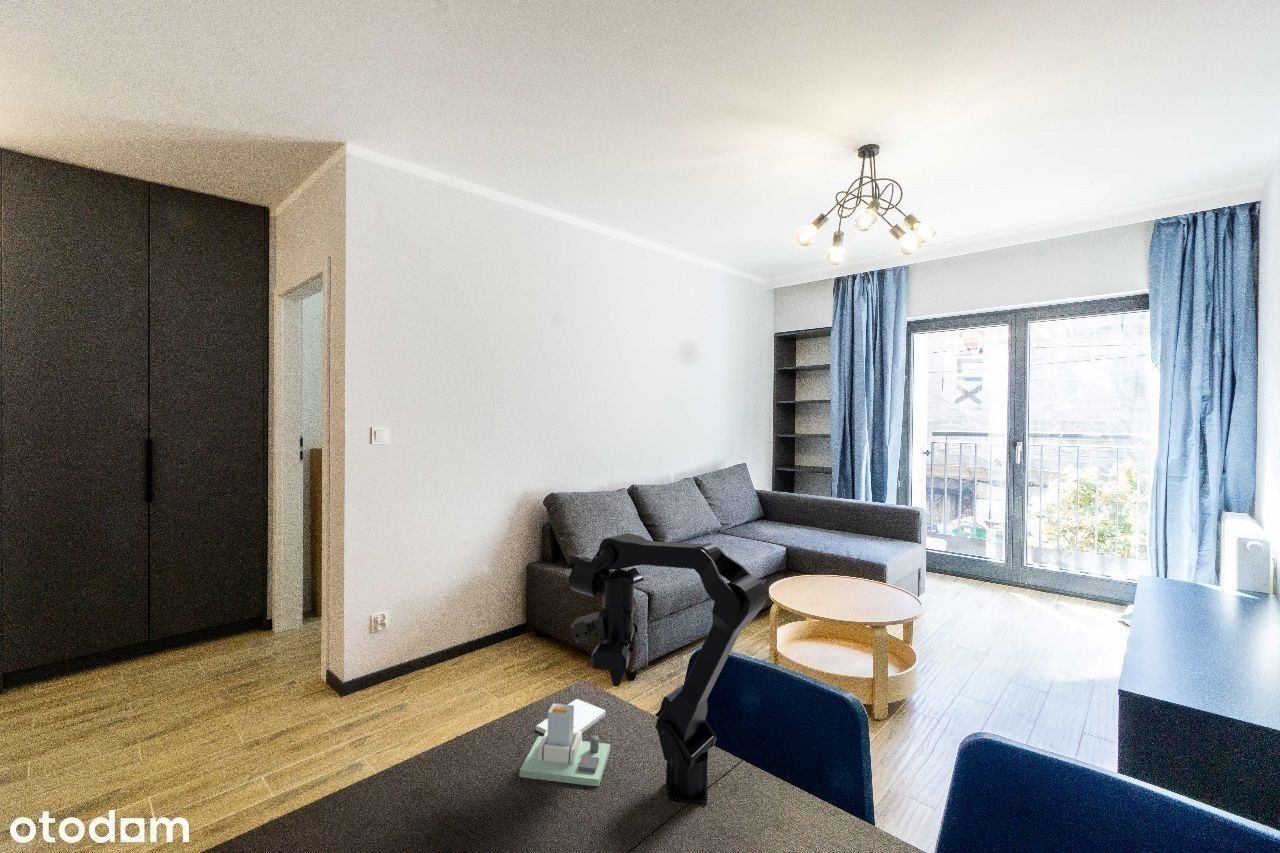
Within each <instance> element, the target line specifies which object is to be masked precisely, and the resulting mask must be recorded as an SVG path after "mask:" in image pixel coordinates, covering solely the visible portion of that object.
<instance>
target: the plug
mask: <svg viewBox="0 0 1280 853" xmlns="http://www.w3.org/2000/svg"><path fill="white" fill-rule="evenodd" d="M547 718H548V736H547V744H548V745H556V746H565V747H570V751H571V747H572V745H573V726H574V706H573V705H568V704H564V703H563V704H561V703H552V704H551V706H550V708H549V710H548V711H547ZM569 757H570V753H569Z"/></svg>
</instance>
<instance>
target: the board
mask: <svg viewBox="0 0 1280 853" xmlns="http://www.w3.org/2000/svg"><path fill="white" fill-rule="evenodd" d="M547 736H548V729H547V731H546V732H545V734H544V735H543V736H542V735H541V736H540V735H537V738H536V740H535V742H534V744H533V745H532V747H531V748H530V750H529V752H528V754H527V756H526V758H525V760H524V761H523V763H522V765H521V767H520V768H519V778H525V779H532V780H542V781H549V782H550V781H551V782H556V783H557V782H558V783H568V784H574V785H575V784H576V785H581V786H582V785H583V786H589V787H590V786H591V787H600V783H601V781H602V778H603V774H604V771H605V768H606V764H607V762H608V759H609V756H610V752H611V744H610V743H606V742H605V743H603V742H600V737H599V736H598V734H597V735H594V734H593V735H591V736H590V738H589V740H590V741H585V740H583V733H582V732H580V731H578V733H577V731H573V745H572V747H571V751H570V747H565V746H556V745H548V744H547ZM569 753H570V757H569Z"/></svg>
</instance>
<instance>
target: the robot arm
mask: <svg viewBox="0 0 1280 853" xmlns="http://www.w3.org/2000/svg"><path fill="white" fill-rule="evenodd" d="M636 566H650V567H651V566H653V567H665V568H676V569H687V570H688V569H690V570H694V571H695V572H696V573H697V574H698V576H699V578H700V580H701V583H702V584H703V585H702V586H703V587H704V590H705V593H707V595H708V596H709V597H710V599H712V600H713V606H712V610H711V615H712V625H711V626H710V630H709V632H708V633H707V636H706V638H705V639H704V641H703V644H702V646H701V648H700V651H699V652H698V654H697V656H696V659H695V660H694V663H693V665H692V666H691V669H690V671H689V673H688V676H686V679H685V681H684V683H682V684H680V685H679V686H677V687H676V688H675V689H673V690H672V691H671V692H669V693H668V694H667V695H665V696H664V697H663V699H662V701H661V703H660V704H661V705H660V708H659V710H658V711H657V712H656V713H654V716H655V717H657V719H656V721H655V729H656V731H657V734H658V738H659V743H660V747H661V751H662V756H663V759H664V760H665V761H666V764H665V765H666V767H665V768H666V772H665V773H666V774H665V787H666V789H668V790H667V799H668V800H670V801H678V802H687V803H693V804H694V803H696V804H703V805H705V804H708V796H709V795H708V794H709V793H708V792H709V785H708V784H709V777H708V766H709V750H710V749H711V748H713V747H714V746H715V743H716V742H717V741H716V740H717V737H718V736H717V735H716V733H715V731H714V730H713V728H712V727H711V725H710V724H709V722H708V720H707V719H706V718H707V714H708V698H709V696H710V694H711V692H712V690H713V687H714V686H715V683H716V682H717V679H718V678H719V675H720V674H721V672H722V670H723V668H724V666H725V663H726V662H727V660H728V658H729V655H730V653H731V652H732V649H733V647H734V646H735V644H736V641H737V639H738V637H739V635H740V634H742V631H744V630H745V628H746V627H747V626H748V625H749V624H750V623H751V622H752V621H753V620H754V619H755V617H756V616H757V615H758V613H759V612H760V611H762V609H763V607H764V606H765V605H766V603H767V601H768V600H767V599H768V593H767V592H766V588H765V586H764V584H763V583H762V582H761V581H760V580H759V579H758V577H755V576H753V575H752V574H751V573H750V572H749V571H748V570H747V569H746V568H745V567H744V566H743V565H742V564H740V563H739V562H738V561H736V560H735V559H733V558H732V557H730V556H729V555H728V554H726V553H725V552H724V551H723V550H722V549H721V547H720V546H718V545H717V544H715V543H712V542H706V543H695V542H694V543H692V542H691V543H689V542H673V541H672V542H671V541H670V542H669V541H654V540H653V541H652V540H649V539H646V538H645V537H643V536H642V535H638V534H634V533H629V532H627V533H621V534H617V535H614V536H610V537H606V538H604V539H602V541H601V542H600V544H599V547H598V551H597V552H596V554H595V555H594V557H593V558H590V557H588V556H581V557H577V558H576V564H575V565H574V566H573V567H572V569H571V571H570V574H569V576H568V585H569V588H570V589H571V590H572V591H573V592H576V593H580V594H584V595H587V596H590V597H593V598H600V597H602V608H601V609H600V611H598V612H593V613H590V614H586V615H583V616H579V617H577V618H575V620H574V621H573V623H572V624H571V625H570V627H571V628H570V629H571V633H570V637H571V638H574V640H575V643H577V644H578V643H579V644H580V643H582V642H583V641H586V640H589V639H592V638H596V637H597V641H603V643H601V642H600V643H599V644H598V645H596V646H595V647H594V649H593V651H592V653H591V656H590V668H592V669H595V670H605V671H606V670H609V675H610V679H611V683H612V687H617V688H618V687H620V685H621V682H622V680H623V677H624V675H625V673H626V671H627V669H628V666H629V664H630V663H629V662H630V660H631V657H632V655H633V651H634V649H635V645H636V642H635V641H632V639H633V636H634V635H639V632H640V630H641V626H640V624H641V620H640V619H639V618H638V617H637V616H636V615H634V614H635V610H636V605H635V604H634V603H635V602H634V600H635V598H634V596H635V594H634V592H635V585H636V584H639V583H640V582H642V581H644V580H645V577H644V576H643V575H642V574H641V573H640V572H639V571H638V569H637V568H636ZM630 567H631V568H630ZM632 567H633V568H632ZM626 568H630V569H628V570H627V569H626ZM722 577H723V578H722ZM724 579H725V580H727V581H729V582H726V581H725V580H724Z"/></svg>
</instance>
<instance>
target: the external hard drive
mask: <svg viewBox="0 0 1280 853" xmlns="http://www.w3.org/2000/svg"><path fill="white" fill-rule="evenodd" d="M567 705H573V706H574V726H573V731H577V733H578V731H580V732H582V734H583V733H584V732H586V730H588V729H589V728H590V727H592V726H593V725H594V724H596V723H597V722H598V721H600V720H602V718H604V717H605V716H606V713H607V712H606V710H605V709H603V708H602V707H598V706H596V705H594V704H592V703H589V702H587V701H584V700H581V699H580V698H579V699H578V698H576V699H574V700H572V701H571V702H570V703H568V704H567ZM599 719H600V720H599ZM547 729H548V717H547V718H545V719H544V720H542V722H540V723H538V724H537V725H536V726H535V731H537V732H539V733H541V734H545V732H546V731H547Z"/></svg>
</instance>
